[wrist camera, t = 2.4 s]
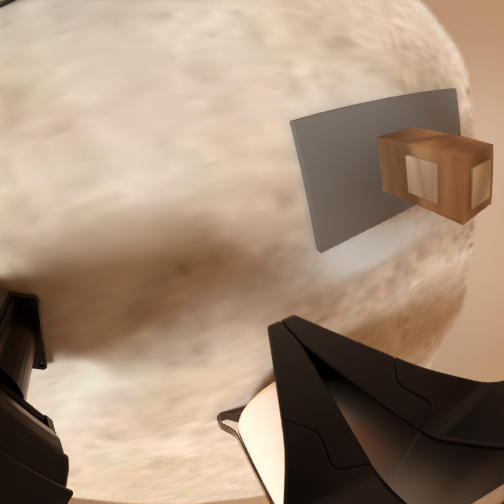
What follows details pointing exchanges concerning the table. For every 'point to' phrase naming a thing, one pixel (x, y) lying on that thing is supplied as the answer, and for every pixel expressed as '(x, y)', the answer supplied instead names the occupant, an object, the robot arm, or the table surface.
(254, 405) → the coffee press
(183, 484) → the table surface
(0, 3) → the small box
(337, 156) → the mat
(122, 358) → the table surface
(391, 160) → the brown rectangular block
